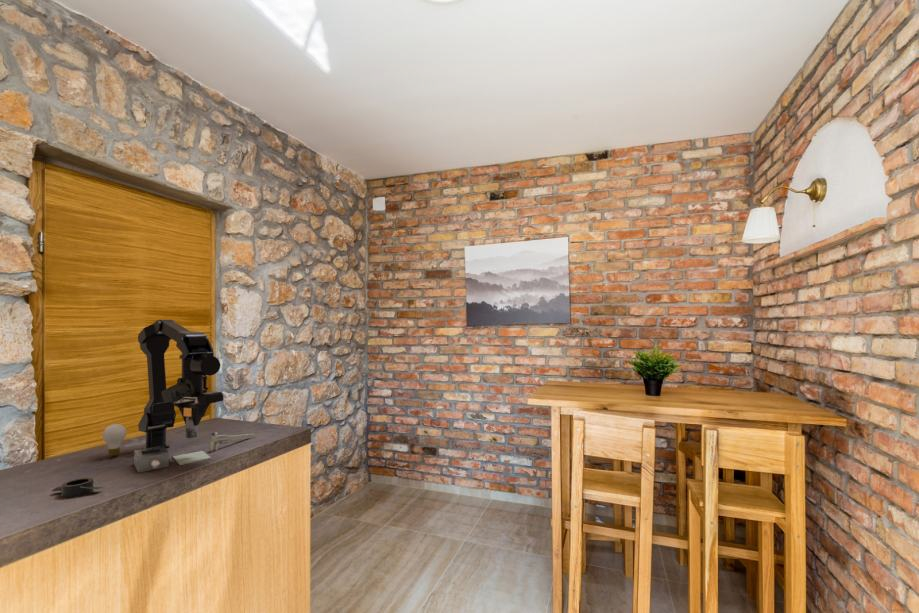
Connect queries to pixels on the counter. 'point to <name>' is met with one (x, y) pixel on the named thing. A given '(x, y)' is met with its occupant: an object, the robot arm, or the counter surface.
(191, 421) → the orange capped vial
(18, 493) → the counter surface
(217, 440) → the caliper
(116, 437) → the light bulb
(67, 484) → the dark flanged ring
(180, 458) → the rubber mat
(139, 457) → the block
